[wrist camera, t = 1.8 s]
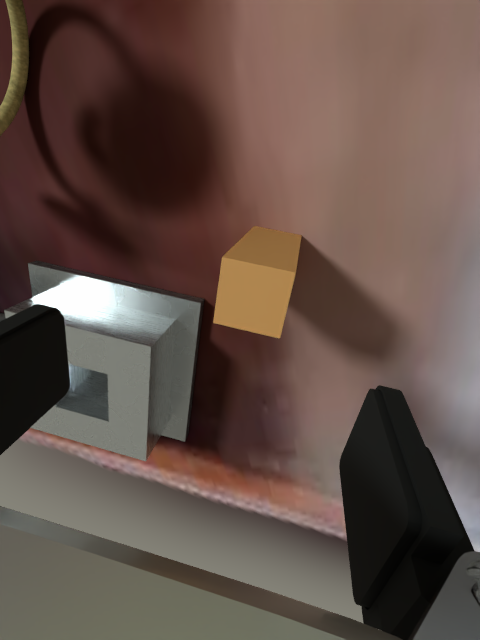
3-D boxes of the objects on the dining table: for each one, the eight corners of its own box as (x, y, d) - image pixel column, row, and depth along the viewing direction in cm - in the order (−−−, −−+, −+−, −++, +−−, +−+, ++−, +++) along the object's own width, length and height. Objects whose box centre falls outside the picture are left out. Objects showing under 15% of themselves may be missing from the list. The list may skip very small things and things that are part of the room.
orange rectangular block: (301, 235, 24) (295, 272, 15) (290, 280, 26) (279, 338, 17) (254, 225, 25) (222, 256, 16) (246, 271, 26) (213, 322, 17)
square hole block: (204, 298, 28) (179, 329, 22) (188, 434, 35) (165, 482, 30) (36, 260, 30) (-24, 280, 24) (53, 397, 37) (9, 436, 31)
